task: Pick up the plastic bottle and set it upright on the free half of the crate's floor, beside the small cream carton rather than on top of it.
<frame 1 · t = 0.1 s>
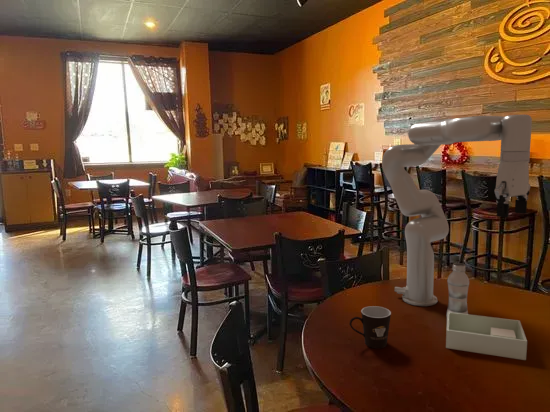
hand: (511, 214, 125), 37 cm above the table, tool pointing down, fingers open, 9 cm apart
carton: (502, 345, 120), point 1 cm above the table, touching crate
crate: (482, 344, 123), on the table
plastic bottle: (456, 323, 137), on the table
coffee mug: (370, 343, 126), on the table
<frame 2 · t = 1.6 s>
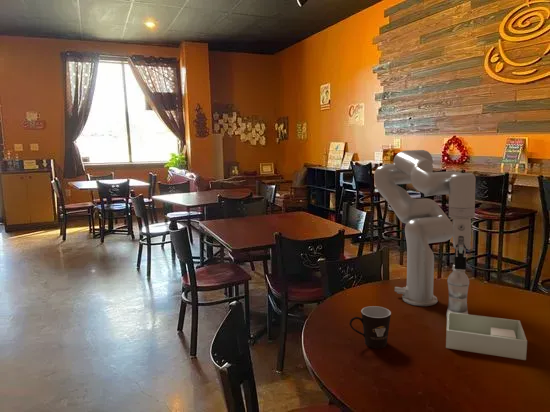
hand: (460, 264, 134), 20 cm above the table, tool pointing down, fingers open, 9 cm apart
nothing on the table moved.
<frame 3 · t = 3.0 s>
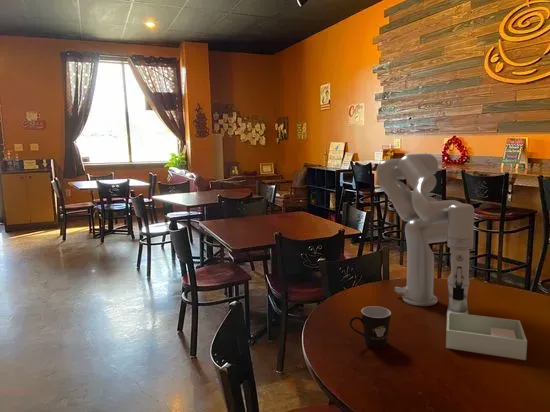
hand: (458, 295, 136), 10 cm above the table, tool pointing down, fingers closed on plastic bottle, 6 cm apart
plastic bottle: (457, 323, 137), on the table, touching gripper
everything else where it was.
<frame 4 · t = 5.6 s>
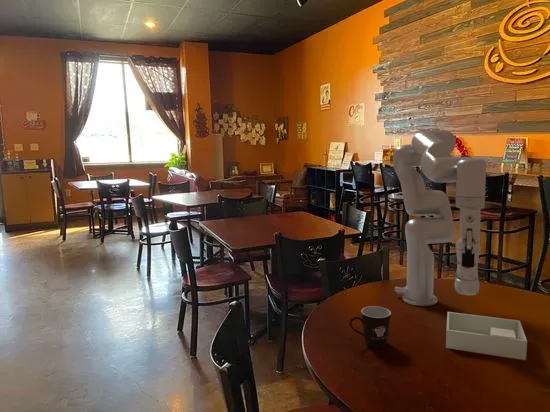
hand: (467, 262, 121), 24 cm above the table, tool pointing down, fingers closed on plastic bottle, 6 cm apart
plastic bottle: (466, 294, 122), point 15 cm above the table, touching gripper
everything else where it was.
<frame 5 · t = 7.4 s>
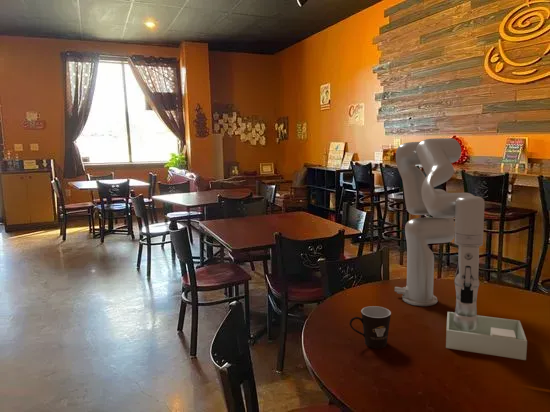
hand: (466, 298, 122), 14 cm above the table, tool pointing down, fingers closed on plastic bottle, 6 cm apart
plastic bottle: (465, 329, 124), point 4 cm above the table, touching gripper
everything else where it was.
when the fingers open (11 cm above the table, at t = 8.4 s): plastic bottle stays where it is, resting on crate.
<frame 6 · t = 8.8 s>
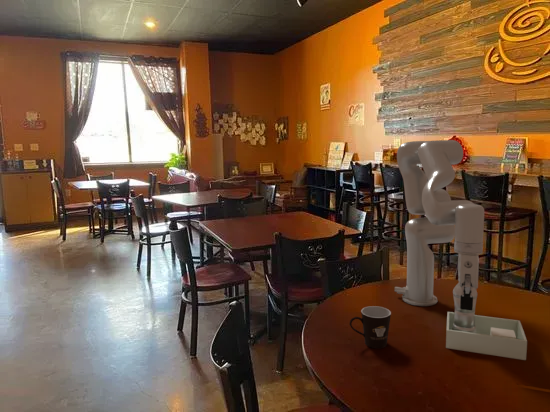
hand: (465, 303, 123), 12 cm above the table, tool pointing down, fingers open, 9 cm apart
plastic bottle: (464, 340, 125), resting on crate
everything else where it was.
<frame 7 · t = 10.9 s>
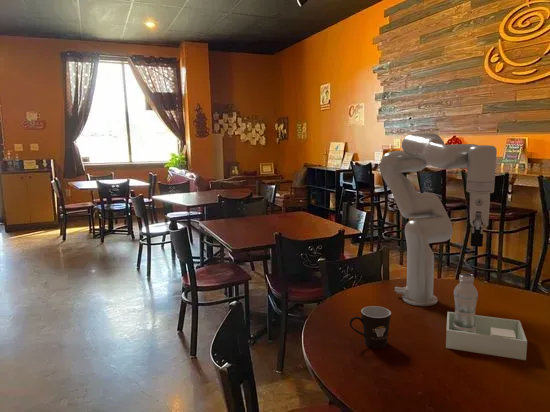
hand: (476, 242, 127), 29 cm above the table, tool pointing down, fingers open, 9 cm apart
nothing on the table moved.
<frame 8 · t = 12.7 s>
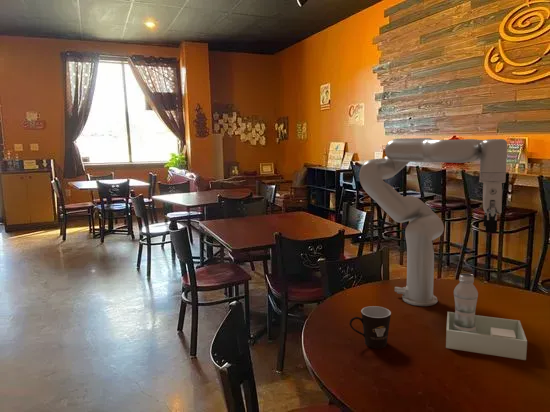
hand: (489, 229, 137), 30 cm above the table, tool pointing down, fingers open, 9 cm apart
nothing on the table moved.
at the end: plastic bottle inside the target area on the crate (1.1 cm from its centre), point 0.4 cm above the crate's base; plastic bottle tilted 0°; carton moved 0.0 cm from its start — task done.
